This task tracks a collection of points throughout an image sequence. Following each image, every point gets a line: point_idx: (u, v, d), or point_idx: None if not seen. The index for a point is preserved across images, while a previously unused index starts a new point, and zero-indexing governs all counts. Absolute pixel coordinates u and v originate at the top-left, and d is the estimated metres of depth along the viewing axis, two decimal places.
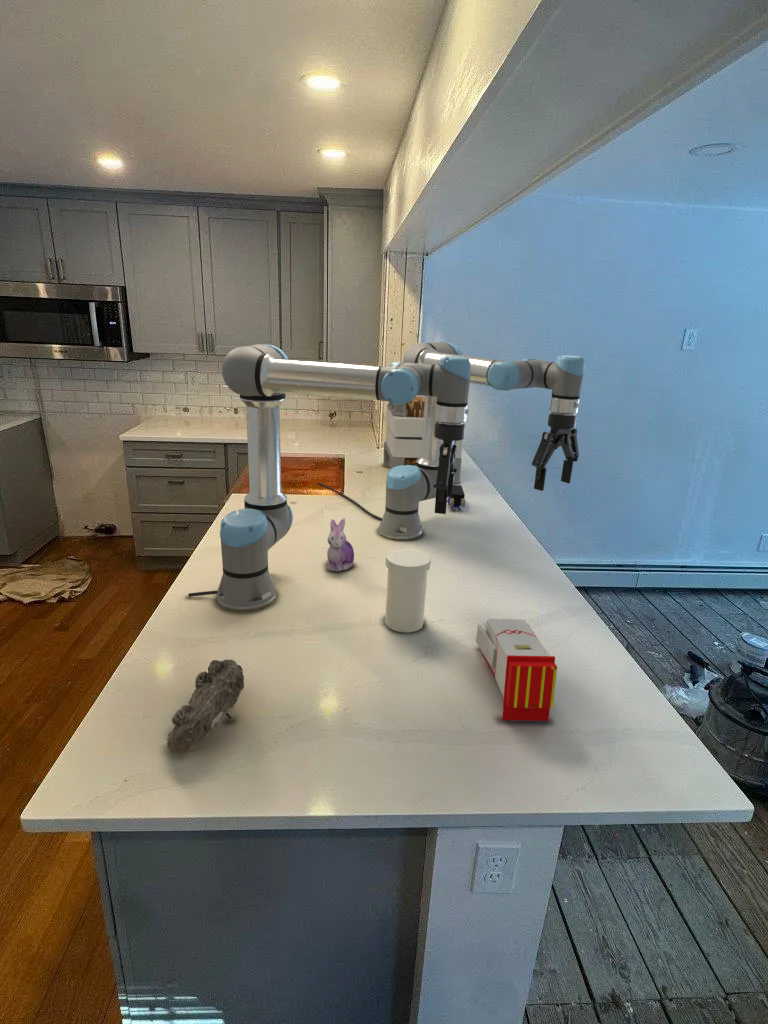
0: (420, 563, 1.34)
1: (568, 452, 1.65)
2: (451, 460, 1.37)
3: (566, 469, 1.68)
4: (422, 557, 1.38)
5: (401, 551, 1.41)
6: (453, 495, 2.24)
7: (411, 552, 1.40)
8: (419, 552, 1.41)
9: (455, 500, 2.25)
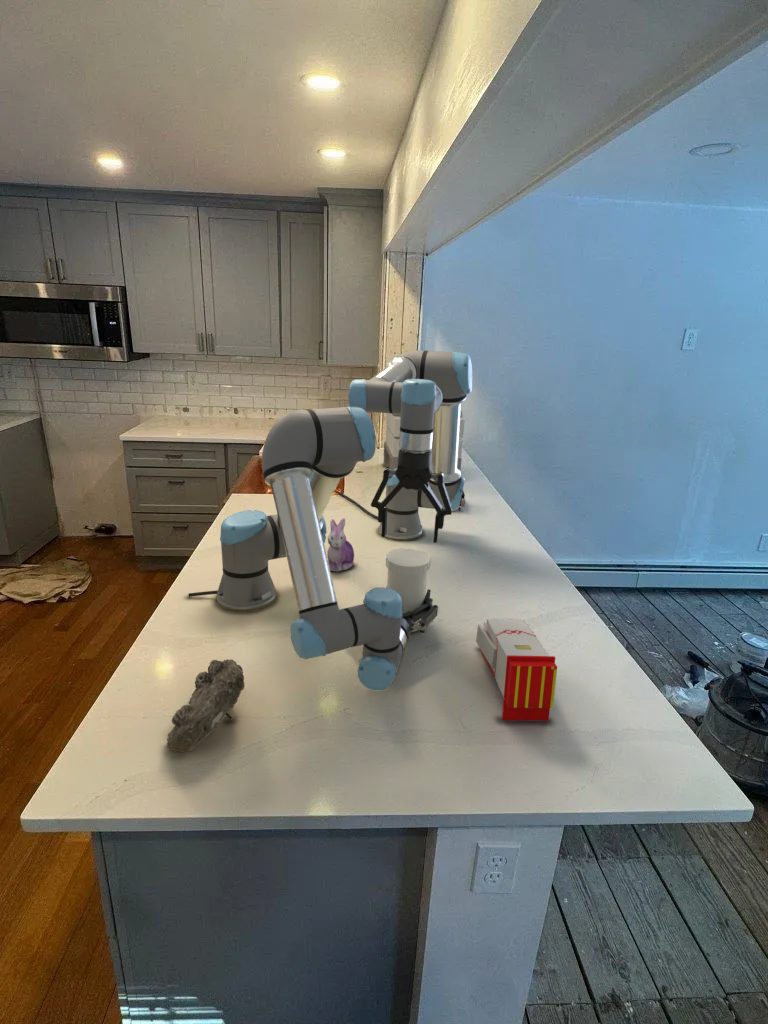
0: (420, 563, 1.34)
1: None
2: None
3: (386, 519, 1.35)
4: (422, 557, 1.38)
5: (401, 551, 1.41)
6: None
7: (411, 552, 1.40)
8: (419, 552, 1.41)
9: None
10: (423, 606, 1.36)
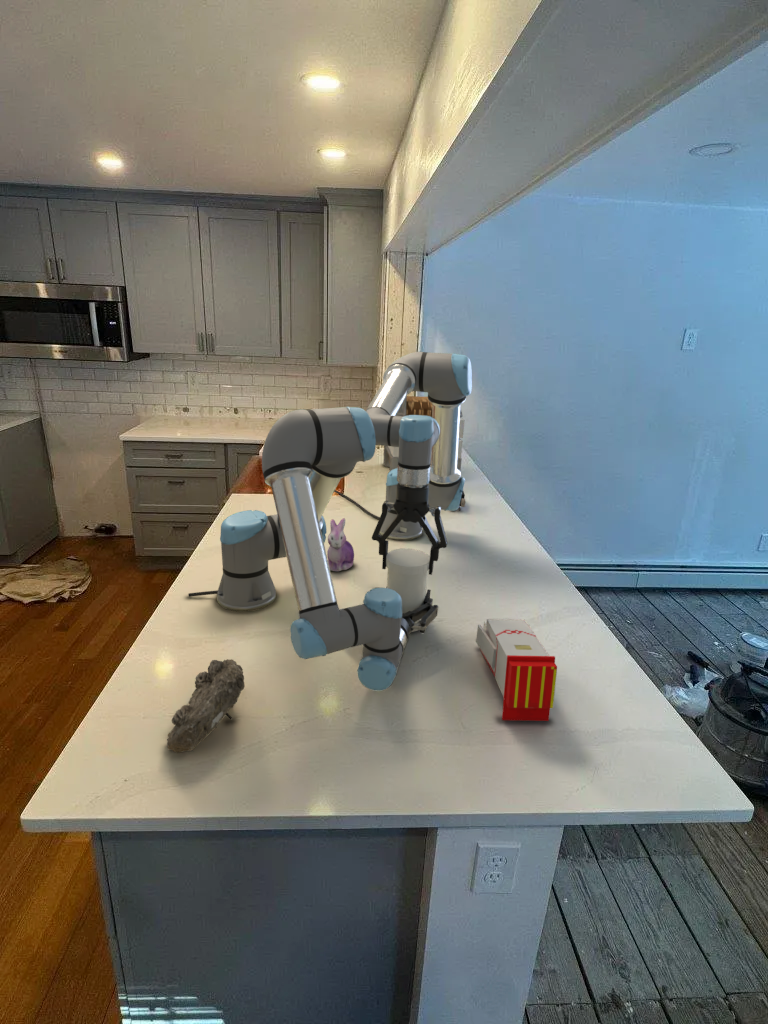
0: (420, 563, 1.34)
1: None
2: None
3: (386, 552, 1.38)
4: (422, 557, 1.38)
5: (401, 551, 1.41)
6: None
7: (411, 552, 1.40)
8: (419, 552, 1.41)
9: None
10: (423, 606, 1.36)
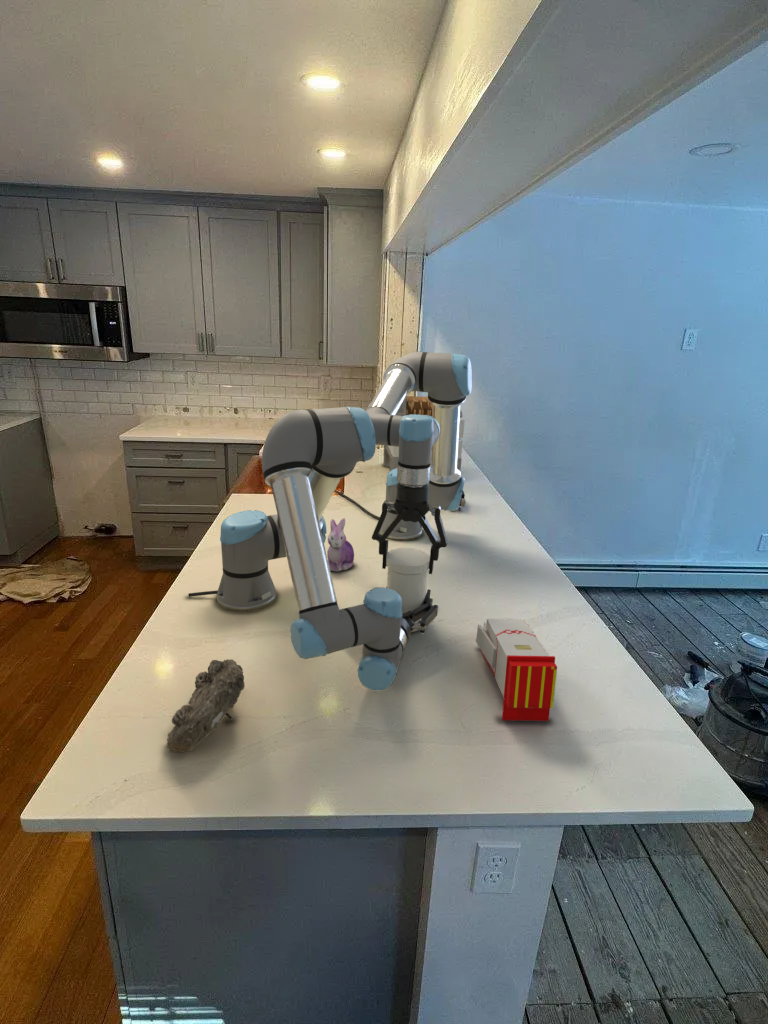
0: (415, 550, 1.41)
1: None
2: None
3: (386, 551, 1.38)
4: (401, 551, 1.40)
5: (398, 561, 1.35)
6: None
7: (396, 556, 1.37)
8: (392, 553, 1.39)
9: None
10: (423, 606, 1.36)
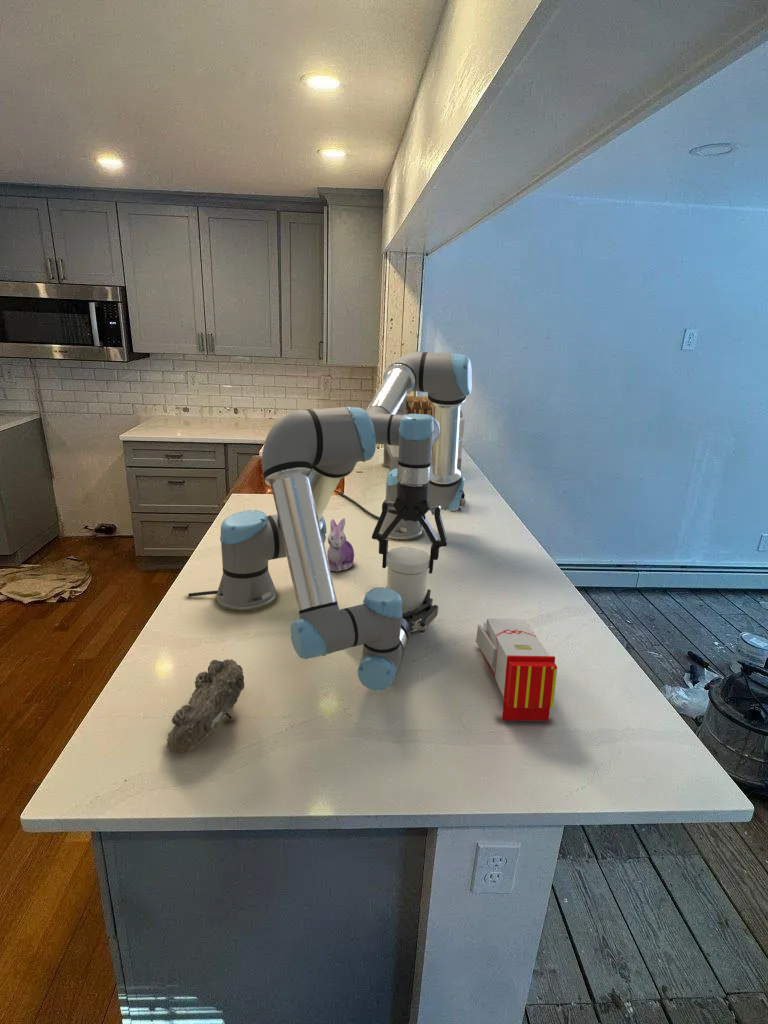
0: (390, 555, 1.38)
1: None
2: None
3: (386, 551, 1.38)
4: (400, 560, 1.35)
5: (424, 558, 1.37)
6: None
7: (415, 560, 1.35)
8: (411, 563, 1.34)
9: None
10: (423, 606, 1.36)
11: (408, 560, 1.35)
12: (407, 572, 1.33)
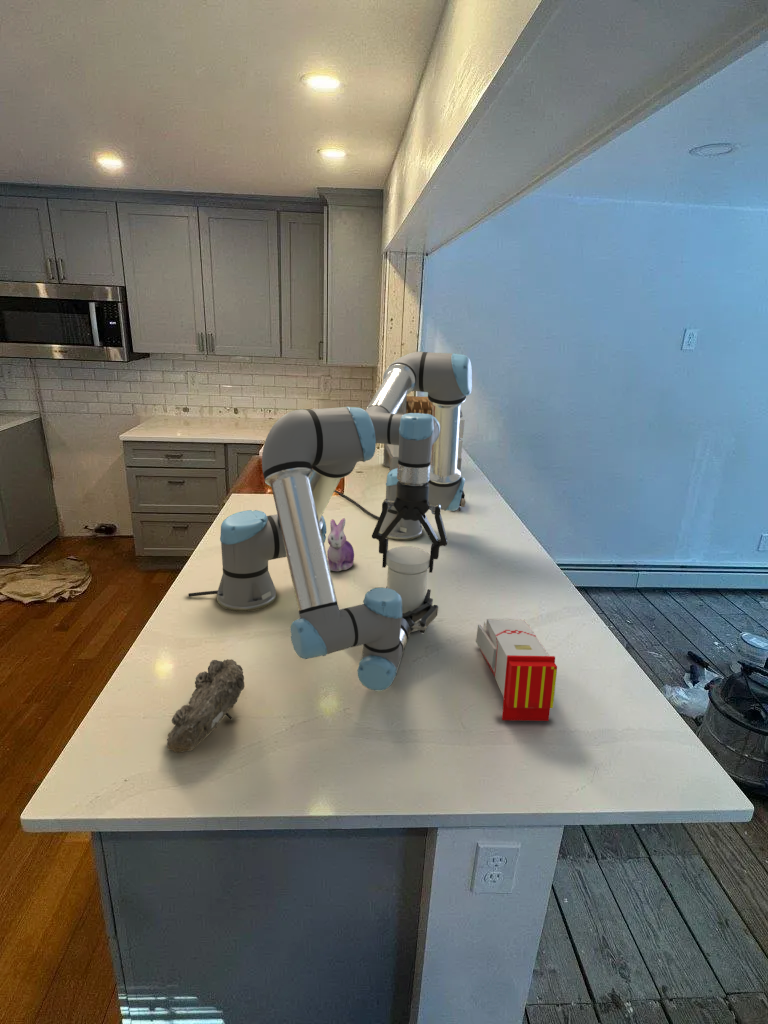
0: (416, 562, 1.34)
1: None
2: None
3: (386, 550, 1.38)
4: (422, 557, 1.37)
5: (405, 548, 1.41)
6: None
7: (414, 551, 1.40)
8: (422, 552, 1.40)
9: None
10: (423, 606, 1.36)
11: (418, 553, 1.38)
12: None
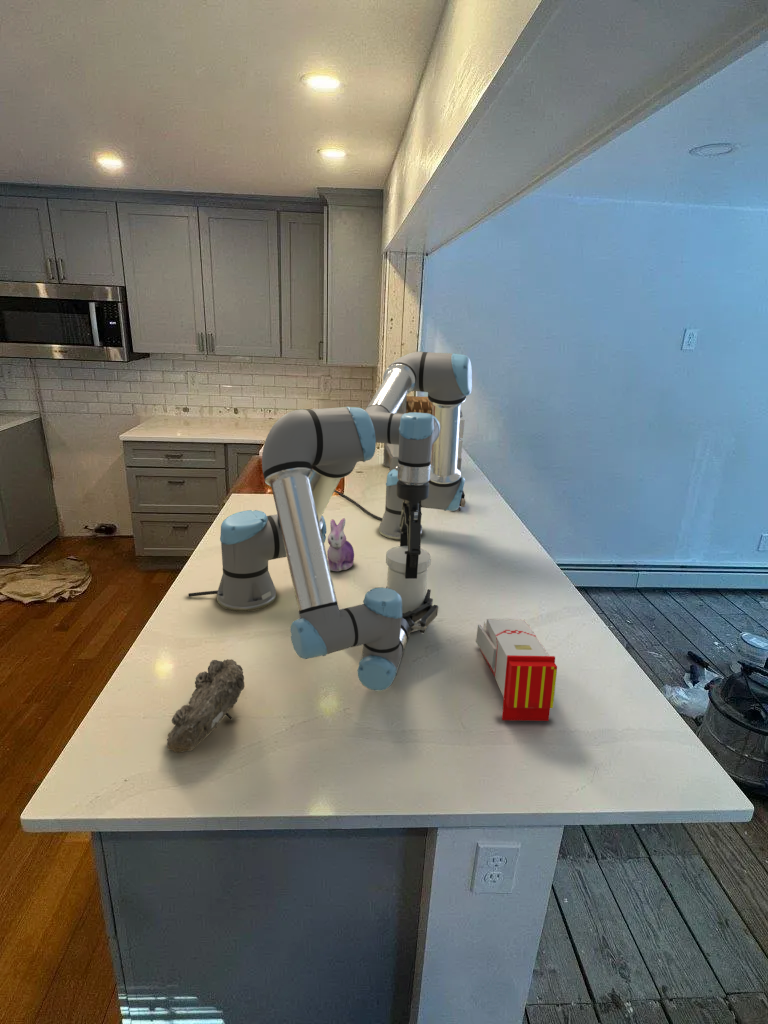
0: (421, 550, 1.40)
1: None
2: None
3: None
4: (407, 548, 1.41)
5: (394, 556, 1.36)
6: None
7: (396, 552, 1.38)
8: (395, 549, 1.40)
9: None
10: (423, 606, 1.36)
11: (401, 550, 1.39)
12: None
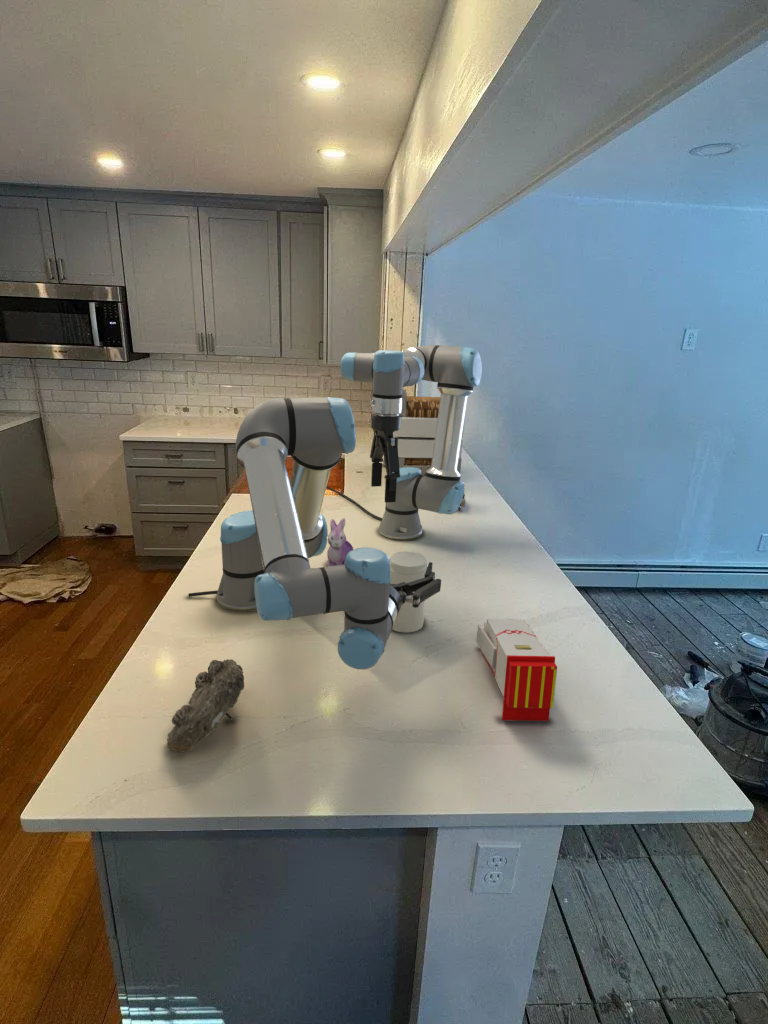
0: None
1: None
2: None
3: None
4: None
5: None
6: None
7: None
8: None
9: None
10: (423, 579, 1.17)
11: None
12: None
